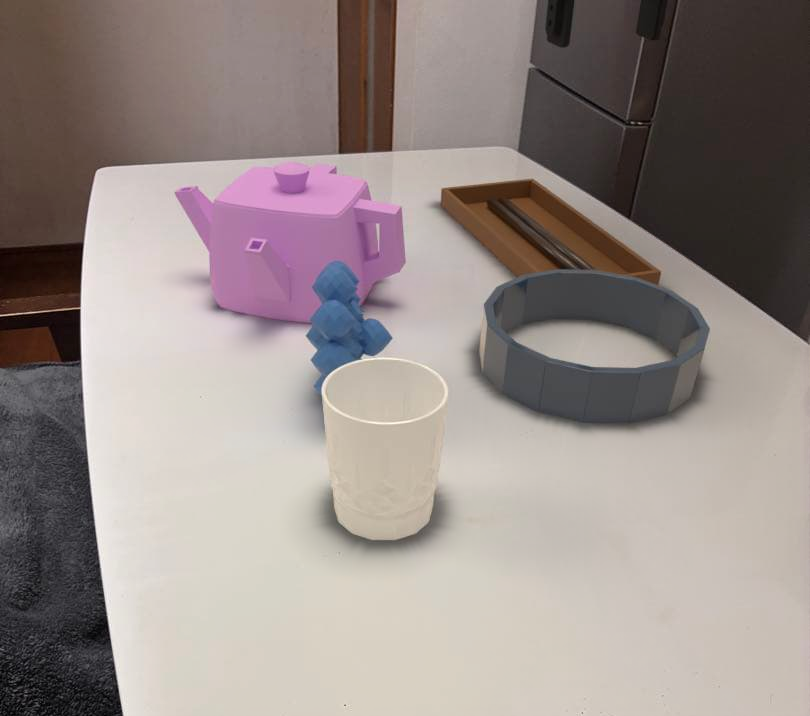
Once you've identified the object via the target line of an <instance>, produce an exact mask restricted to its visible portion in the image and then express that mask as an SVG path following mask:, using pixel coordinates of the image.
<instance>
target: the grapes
mask: <svg viewBox="0 0 810 716" xmlns="http://www.w3.org/2000/svg"><path fill="white" fill-rule="evenodd" d="M359 282H360V281H359V280H358V278H357V277H356V275H355V274H354V273H353V272H352V270H351V269H350V268H349V267H348V266H347V265H346V264H345V263H343V262H341V261H333V262H331V263H329V264H328V265H327V266H326V267H325V268H324V269H323V271H322V272H321V273H320V274H319V276H318V277H317V278H316V282H315V283H314V285H313V286H312V289H313V290H314V292H315V293H316V294H317V296H318V297H319V300H320V301H321V303H322V305H321V306H320V307H319V308H318V309H317V311H316V312H315V313H314V314H313V316H312V317H311V318H310V321H311V322H312V323H311V324H312V325H313V326H311V328H310V329H309V330H308V331H307V333H306V334H305V337H306V338H307V340H308V341H309V342H310V344H311V345H312V346H313V347H314V349H315V350H317V351H316V352H315V353H314V354H313V355H312V357H311V358H310V361H311V363H312V364H313V366H314V367H315V368H316V369H317V371H319V373H320V374H321V376H320V377H319V378H318V380H316V382H315V384H314V385H313V388H314V389H315V390H316V392H317V393H318V395H320V396H321V397H322V391H321V390H322V384H323V382H324V380H325V379H326V377H327V376H328V375H329V374H330V373H331V372H332V371H334V370H335V369H337V368H339V367H341V366H343V365H345V364H347V363H350V362H353V361H357V360H362V359H363V358H362V357H363V355H365V356H368V357H375V356H377V355H379V354H380V353H381V352H383V351H384V350H385V349H386V348H387V346H388V345H390V343H391V341H392V340H393V336H392V334H391V333H390V332H389V331H388V329H387V328H386V326H384V324H383V323H381V322H380V321H379V320H378V319H375V318H370V317H368V318H366V319H365V318H364V314H363V313H364V312H365V311H364V309H363V308H362V307H361V306H359V305H358V303H359V302H360V300H361V299H360V298H359V297H358V295H357V294H356V291H357V289H358V288H357V287H356V286H357V284H358V283H359Z"/></svg>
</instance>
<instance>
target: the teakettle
mask: <svg viewBox="0 0 810 716" xmlns="http://www.w3.org/2000/svg"><path fill="white" fill-rule="evenodd" d="M337 170H338V169H337V165H329V164H321V163H314V164H313V165H312V166H308V165H307V164H304V163H301V162H295V161H287V162H282V163H279V164H276V165H275V166H273V167H270V166H254V167H253V166H252V167H251V168H249V169H248V170H246V171H244V172H243V173H242V174H241V175H239V176H238V177H237V178H235V179H234V180H233V181H232V182H231V183H230V184H228V186H226V187H225V188H224V189H223V190H222V191H221V192H220V193H219V194H218V195H217V196H216V197H215V198H214V199H213V201H211V199H209V197H207V196H206V195H205V194H204V193H203V192H202V191H201V190H200V189H199V186H198V185H191V186H181V187H180V188H178V189H177V190H175V191H174V195H175V197H176V199H177V201H178V203H179V204H180V205H181V207H182V209H183V211H184V212H185V214H186V216H187V218H188V219H189V221H190V223H191V224H192V226H193V228H194V229H195V231H196V232H197V234H198V236H199V237H200V239H201V241H202V243H203V244H204V246H205V248H206V249H207V251H208V254H209V255H208V257H209V259H208V260H209V278H210V286H211V291H212V294H213V297H214V298H215V301H216V303H217V305H218V307H220V308H221V309H225V310H227V311H232V312H235V313H240V314H244V315H245V314H246V315H250V316H255V317H261V318H266V319H271V320H272V319H273V320H279V321H286V322H295V323H303V324H304V323H305V324H312V322H311V321H310V318H311V317H312V316H313V314H314V313H315V312H316V311H317V309H318V308H319V307H320V306H321V305H322V303H321V301H320V300H319V297H318V296H317V294H316V293H315V292H314V290H313V289H312V286H313V285H314V283H315V282H316V278H317V277H318V276H319V274H320V273H321V272H322V271H323V269H324V268H325V267H326V266H327V265H328V264H329V263H331V262H333V261H341V262H343V263H345V264H346V265H347V266H348V267H349V268H350V269H351V270H352V272H353V273H354V274H355V275H356V277H357V278H358V280H359V281H360V282H359V283H358V284H357V286H356V287H357V288H358V289H357V291H356V294H357V295H358V297H359V298H360V299H361V300H360V302H359V303H358V305H359V306H360V307H361V306H362V305H363V303H364V302H365V300H366V299H367V297H368V296H369V294H370V292H371V291H372V289H373V286H374V284H375V283H376V282H378V281H381V280H384V279H386V278H388V277H392V276H393V275H395V274H397V273H400V272H401V270H402V269H403V268H404V266H405V265H406V263H407V262H406V261H407V260H406V259H407V258H406V248H405V232H404V218H403V206H402V205H399V204H394V203H393V204H392V203H387V202H381V201H375V200H372V196H371V192H370V187H369V183H368V181H367V180H365V179H363V178H359V177H355V176H349V175H344V174H338V171H337ZM377 224H378V225H379V226H378V227H379V229H377ZM378 235H379V236H378Z"/></svg>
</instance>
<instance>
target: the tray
mask: <svg viewBox="0 0 810 716" xmlns="http://www.w3.org/2000/svg"><path fill="white" fill-rule="evenodd" d="M440 189H441V191H440V207H441V208H442V209H443V210H444V211H445V212H446V213H447V214H448V215H449V216H451V218H453V219H454V220H455V221H456V222H457V223H458V224H460V225H461V227H463V228H464V229H465V230H466V231H467V232H468V233H469V234H470V235H471V236H472V237H473V238H474V239H475V240H477V241H478V242H479V243H480V244H481V245H482V246H483V247H484V248H485V249H487V250H488V251H489V252H490V253H491V254H492V255H493V256H494V257H495V258H496V259H497V260H498V261H499V262H500V263H502V264H503V266H505V267H506V268H507V269H508V270H509V271H510V272H511V273H512V274H513V275H514V276H515V277H516V278H517V277H519V276H521V275H526V274H532V273H538V272H544V271H550V270H558V269H561V268H560V267H559V266H558V265H557V264H555V263H554V262H553V261H552V260H551V259H549V258H548V257H547V256H546V255H545V254H543V253H542V252H541V251H540V250H539V249H538V248H536V247H535V246H534V245H533V244H532V243H530V242H529V241H528V240H527V239H526V238H524V237H523V236H522V235H521V234H520V233H518V232H517V231H516V230H515V229H514V228H513V227H511V226H510V225H509V224H508V223H507V222H505V221H504V220H503V219H502V218H501V217H499V216H498V215H497V214H496V213H495V212H494V211H492V210H491V209H490V208H489V207H488V206H487V201H488V199H490V198H495V199H496V200H497V201H498V199H499V198H500V197H505V198H507V199H508V200H509V201H510V202H512V203H513V204H514V205H516V206H517V207H518V208H519V209H521V210H522V211H523V212H524V213H526V214H527V215H528V216H529V217H531V218H532V219H533V220H534V221H536V222H537V223H538V224H539V225H541V226H542V227H543V228H544V229H546V230H547V231H548V232H549V233H551V234H552V235H553V236H554V237H556V238H557V239H558V240H559V241H561V242H562V243H563V244H565V245H566V246H567V247H568V248H570V249H571V250H572V251H573V252H575V253H576V254H577V255H578V256H580V257H581V258H582V259H583V260H585V261H586V262H587V263H588V264H590V265H591V266H592V267H593V268H595V269H596V270H599V271H604V272H610V273H615V274H621V275H626V276H631V277H636V278H639V279H642V280H645V281H647V282H650V283H653V284H656V285H658V286H660V285H659V284H660V281H661V280H660V279H661V275H662V271H661V270H660V269H659V268H657V267H656V266H655V265H653V264H652V263H650V262H649V261H647V260H646V259H645V258H644V257H642V256H641V255H640V254H638V253H637V252H635V251H634V250H632V249H631V248H630V247H629V246H627V245H626V244H624V243H623V242H621V241H620V240H619V239H618V238H616V237H615V236H613V235H611V234H610V233H609V232H608V231H606V230H605V229H604V228H602V227H601V226H599V225H598V224H596V223H595V222H594V221H592V220H591V219H590V218H588V217H587V216H585V215H584V214H583V213H581V212H580V211H579V210H577V208H574V207H573V206H572V205H570V204H569V203H567V202H566V201H565V200H564V199H562V198H561V197H559V196H558V195H556V194H555V193H553V192H552V191H551V190H550V189H548V188H547V187H545V186H544V185H543V184H541V182H538V181H537V180H535V179H534V178H523V179H516V180H507V181H497V182H487V183H478V184H467V185H459V186H450V187H441V188H440Z"/></svg>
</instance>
